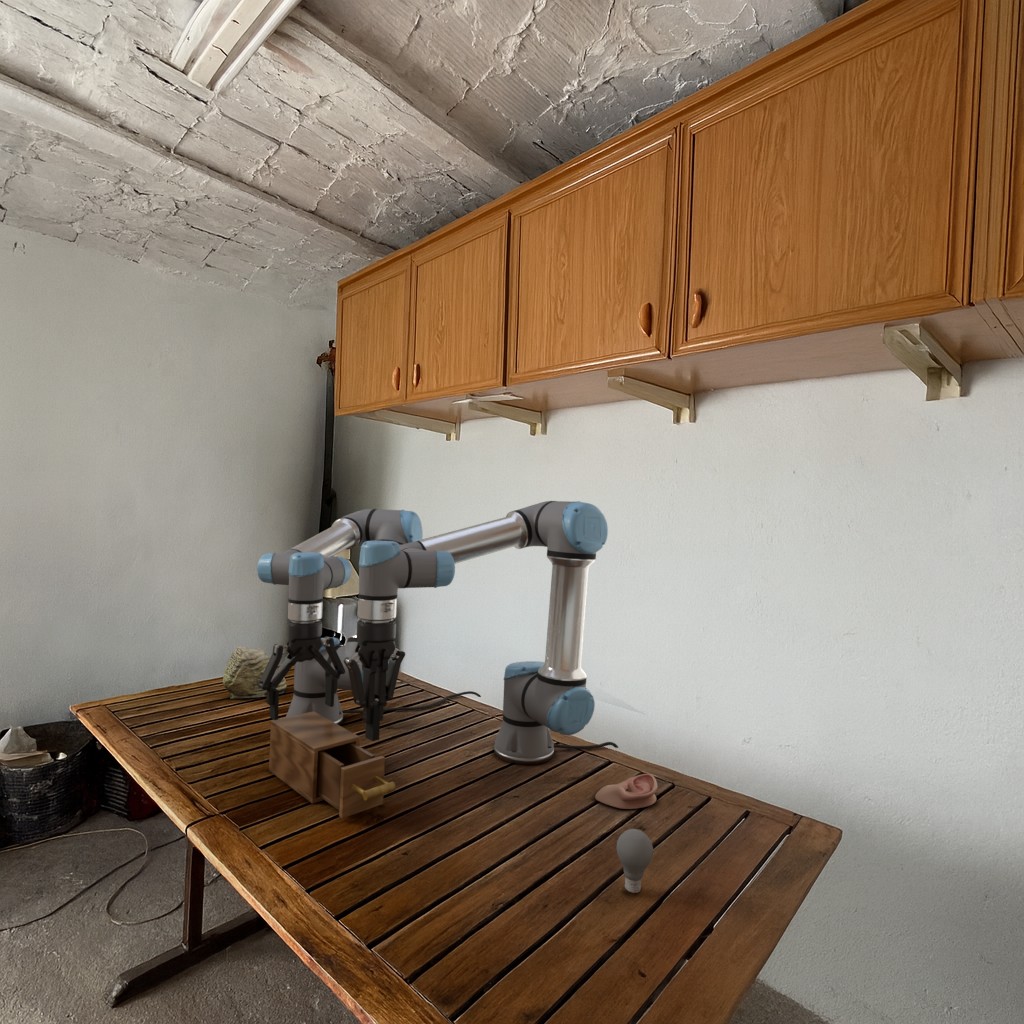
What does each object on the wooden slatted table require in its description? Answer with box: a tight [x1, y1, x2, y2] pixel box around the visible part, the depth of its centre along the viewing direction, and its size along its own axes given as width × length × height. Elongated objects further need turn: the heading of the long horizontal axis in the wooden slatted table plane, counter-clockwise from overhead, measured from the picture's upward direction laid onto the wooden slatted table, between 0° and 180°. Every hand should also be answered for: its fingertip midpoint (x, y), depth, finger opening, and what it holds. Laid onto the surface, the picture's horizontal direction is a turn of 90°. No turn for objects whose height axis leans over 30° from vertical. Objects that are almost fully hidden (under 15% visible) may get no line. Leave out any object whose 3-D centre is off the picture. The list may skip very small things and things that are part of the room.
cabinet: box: [268, 711, 360, 804], centre depth 142 cm, size 21×11×12 cm, turn 45°
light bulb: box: [615, 828, 654, 894], centre depth 106 cm, size 6×6×10 cm
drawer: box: [316, 742, 396, 819], centre depth 131 cm, size 26×9×10 cm, turn 45°
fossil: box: [222, 646, 288, 699], centre depth 198 cm, size 9×18×15 cm, turn 132°
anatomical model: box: [594, 773, 658, 810], centre depth 139 cm, size 13×4×12 cm
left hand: (302, 711), depth 146 cm, fingers open, 13 cm apart
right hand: (372, 738), depth 125 cm, fingers closed
